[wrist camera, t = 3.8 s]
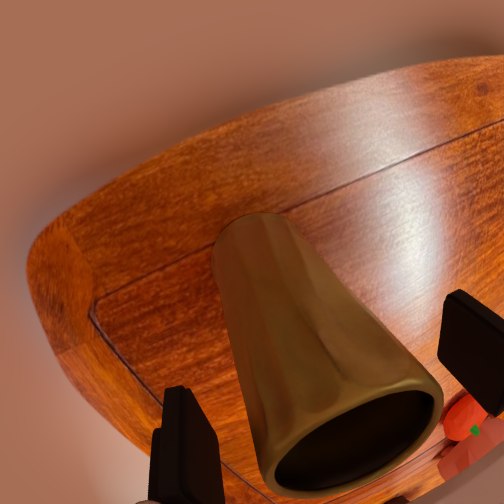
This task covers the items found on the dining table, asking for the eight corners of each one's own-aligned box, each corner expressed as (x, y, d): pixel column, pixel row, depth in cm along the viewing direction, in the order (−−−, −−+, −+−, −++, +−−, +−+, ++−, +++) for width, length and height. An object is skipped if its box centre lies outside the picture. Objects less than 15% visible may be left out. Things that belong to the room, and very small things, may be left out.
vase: (315, 281, 21) (443, 445, 7) (231, 315, 21) (280, 519, 7) (290, 197, 19) (471, 317, 5) (195, 233, 18) (198, 441, 5)
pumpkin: (481, 390, 32) (504, 414, 26) (443, 428, 34) (464, 455, 28) (471, 376, 30) (498, 405, 24) (428, 420, 31) (452, 451, 25)
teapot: (412, 465, 37) (448, 523, 23) (463, 412, 34) (510, 470, 20) (466, 452, 43) (496, 492, 30) (504, 409, 40) (540, 448, 27)
